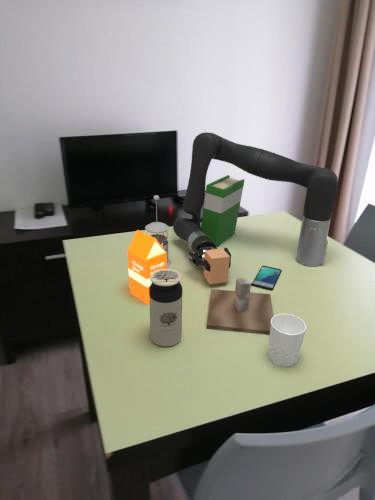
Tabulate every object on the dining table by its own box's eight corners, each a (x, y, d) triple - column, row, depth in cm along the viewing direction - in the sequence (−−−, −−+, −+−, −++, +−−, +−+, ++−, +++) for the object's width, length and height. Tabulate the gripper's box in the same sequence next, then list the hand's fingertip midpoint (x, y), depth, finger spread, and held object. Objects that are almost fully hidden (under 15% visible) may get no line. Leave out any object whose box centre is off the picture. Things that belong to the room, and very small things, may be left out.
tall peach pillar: (220, 272, 120) (222, 248, 116) (227, 281, 115) (229, 256, 111) (203, 275, 119) (204, 250, 115) (210, 284, 113) (211, 258, 110)
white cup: (262, 346, 90) (266, 313, 86) (292, 345, 91) (298, 312, 87) (271, 369, 83) (276, 335, 79) (304, 368, 84) (311, 334, 80)
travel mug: (152, 326, 97) (150, 267, 89) (182, 327, 96) (183, 268, 89) (148, 346, 89) (146, 284, 82) (180, 348, 89) (181, 285, 81)
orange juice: (149, 283, 116) (147, 226, 107) (167, 295, 111) (167, 235, 102) (129, 292, 111) (125, 233, 102) (147, 305, 106) (145, 242, 97)
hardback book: (219, 228, 157) (227, 175, 145) (234, 234, 154) (244, 179, 142) (198, 242, 143) (206, 184, 132) (215, 249, 140) (224, 190, 129)
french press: (138, 266, 126) (135, 197, 115) (153, 252, 136) (152, 188, 125) (164, 272, 123) (163, 201, 112) (177, 257, 133) (178, 191, 122)
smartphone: (250, 284, 116) (262, 264, 129) (250, 286, 117) (262, 266, 129) (272, 290, 114) (282, 269, 126) (272, 292, 114) (282, 271, 126)
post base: (269, 297, 111) (274, 268, 106) (275, 335, 94) (280, 302, 90) (211, 292, 112) (212, 263, 108) (206, 328, 96) (208, 296, 92)
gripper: (181, 237, 123) (198, 259, 109) (220, 233, 127) (241, 254, 113) (181, 256, 126) (197, 281, 112) (219, 252, 130) (239, 274, 116)
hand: (219, 267), depth 113 cm, fingers closed on tall peach pillar, 6 cm apart
